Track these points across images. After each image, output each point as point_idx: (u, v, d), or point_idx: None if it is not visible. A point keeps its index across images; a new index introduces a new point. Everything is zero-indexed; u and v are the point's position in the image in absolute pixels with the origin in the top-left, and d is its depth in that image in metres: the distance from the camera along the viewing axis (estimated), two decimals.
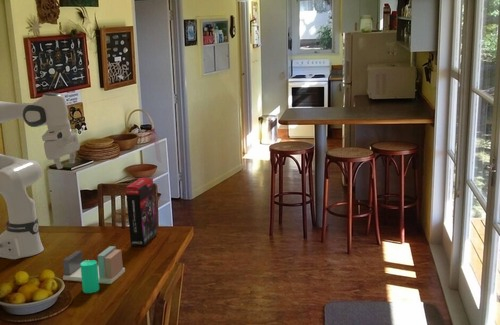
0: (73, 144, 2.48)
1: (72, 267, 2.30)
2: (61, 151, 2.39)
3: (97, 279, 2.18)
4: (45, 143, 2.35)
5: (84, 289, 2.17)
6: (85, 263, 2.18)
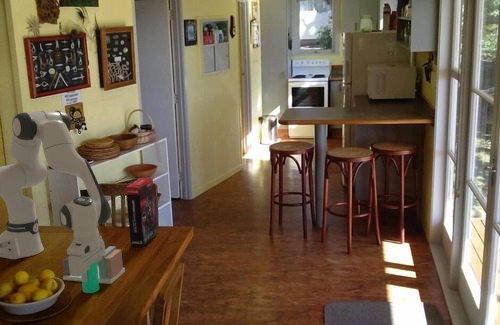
0: (99, 253, 2.21)
1: None
2: (86, 265, 2.12)
3: (97, 279, 2.18)
4: (70, 258, 2.08)
5: (84, 289, 2.17)
6: None
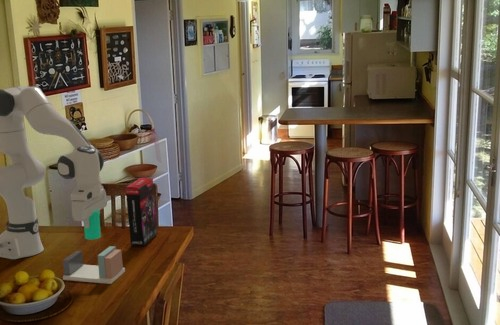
0: (101, 201, 2.30)
1: (72, 267, 2.30)
2: (88, 211, 2.21)
3: (99, 226, 2.27)
4: (73, 203, 2.17)
5: (86, 236, 2.26)
6: None
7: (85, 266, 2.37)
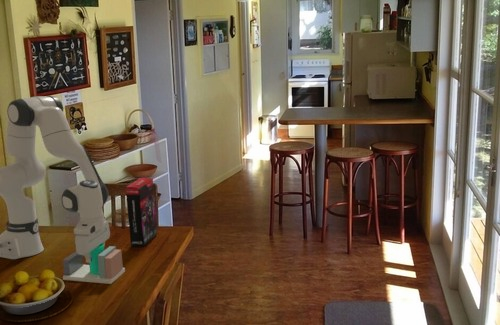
0: (104, 234, 2.33)
1: (72, 267, 2.30)
2: (92, 245, 2.24)
3: None
4: (77, 237, 2.19)
5: (91, 270, 2.30)
6: None
7: (85, 266, 2.37)
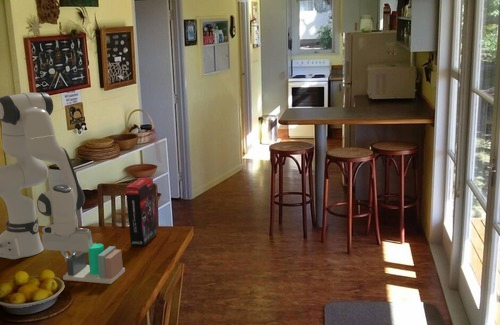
0: (77, 244, 2.28)
1: (75, 267, 2.30)
2: (54, 245, 2.31)
3: None
4: None
5: (91, 270, 2.30)
6: None
7: None
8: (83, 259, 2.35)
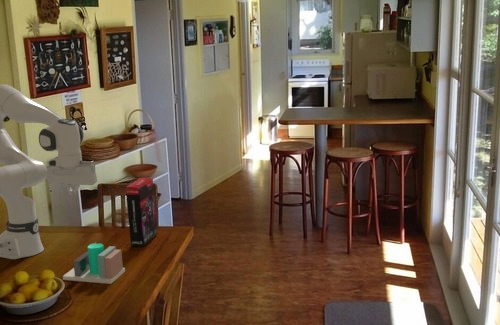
0: (81, 177, 2.33)
1: (82, 268, 2.29)
2: (58, 178, 2.36)
3: None
4: None
5: (91, 270, 2.30)
6: (92, 246, 2.30)
7: None
8: None
